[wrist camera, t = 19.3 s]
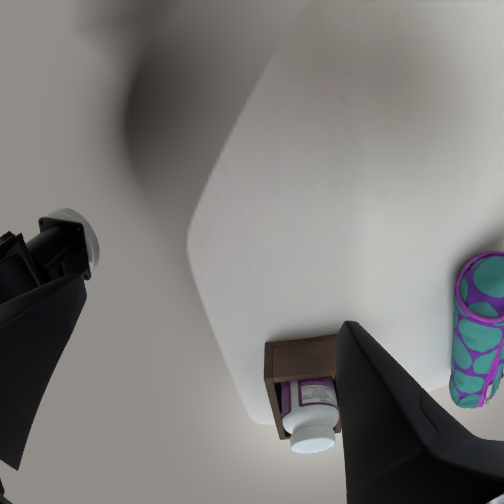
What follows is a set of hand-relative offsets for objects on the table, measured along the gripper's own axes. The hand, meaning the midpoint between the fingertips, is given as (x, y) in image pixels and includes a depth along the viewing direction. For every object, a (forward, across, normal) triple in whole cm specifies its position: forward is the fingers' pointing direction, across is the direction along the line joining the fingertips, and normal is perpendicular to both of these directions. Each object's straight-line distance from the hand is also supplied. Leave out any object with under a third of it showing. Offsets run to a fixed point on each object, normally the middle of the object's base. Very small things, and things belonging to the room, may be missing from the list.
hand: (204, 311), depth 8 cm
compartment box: (+13, -11, +21) cm, 27 cm away
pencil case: (+13, -29, +9) cm, 33 cm away
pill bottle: (+12, -9, +17) cm, 23 cm away
